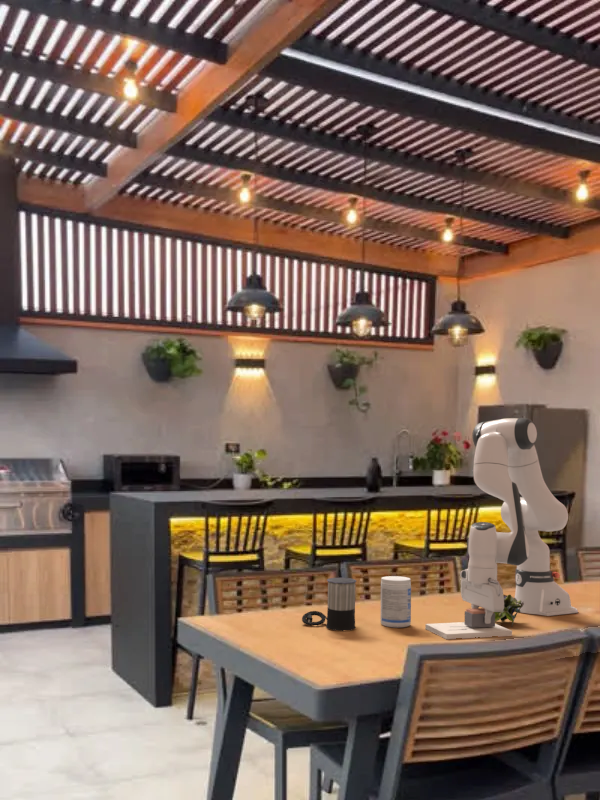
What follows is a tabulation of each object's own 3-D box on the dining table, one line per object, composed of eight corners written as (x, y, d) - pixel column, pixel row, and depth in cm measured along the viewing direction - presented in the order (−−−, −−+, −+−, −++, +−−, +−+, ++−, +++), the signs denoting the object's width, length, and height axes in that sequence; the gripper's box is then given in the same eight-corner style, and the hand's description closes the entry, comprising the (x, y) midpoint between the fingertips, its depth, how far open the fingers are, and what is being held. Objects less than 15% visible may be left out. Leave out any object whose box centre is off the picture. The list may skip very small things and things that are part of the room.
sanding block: (487, 623, 261) (487, 607, 261) (494, 626, 257) (495, 610, 257) (464, 624, 259) (464, 608, 259) (471, 627, 254) (471, 611, 255)
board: (488, 625, 267) (488, 620, 267) (512, 635, 253) (512, 630, 253) (425, 628, 260) (425, 623, 260) (446, 639, 247) (446, 634, 247)
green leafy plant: (502, 638, 273) (518, 606, 277) (520, 639, 263) (536, 606, 267) (475, 619, 272) (491, 587, 276) (492, 619, 262) (508, 586, 266)
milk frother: (358, 631, 255) (359, 582, 255) (307, 632, 252) (309, 582, 253) (348, 621, 269) (349, 574, 269) (299, 622, 266) (300, 574, 267)
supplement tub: (415, 628, 261) (415, 580, 262) (386, 628, 259) (386, 580, 259) (404, 621, 270) (405, 575, 271) (376, 622, 268) (377, 575, 269)
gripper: (509, 581, 250) (509, 628, 249) (475, 570, 269) (474, 614, 269) (490, 581, 248) (490, 629, 247) (457, 571, 267) (456, 614, 267)
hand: (481, 621), depth 258 cm, fingers closed on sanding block, 4 cm apart
